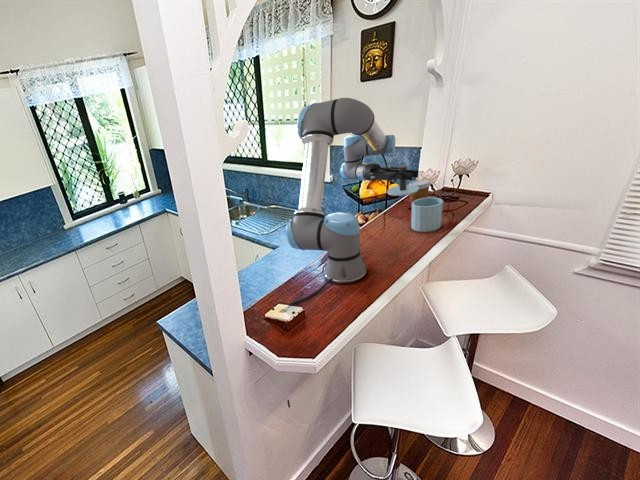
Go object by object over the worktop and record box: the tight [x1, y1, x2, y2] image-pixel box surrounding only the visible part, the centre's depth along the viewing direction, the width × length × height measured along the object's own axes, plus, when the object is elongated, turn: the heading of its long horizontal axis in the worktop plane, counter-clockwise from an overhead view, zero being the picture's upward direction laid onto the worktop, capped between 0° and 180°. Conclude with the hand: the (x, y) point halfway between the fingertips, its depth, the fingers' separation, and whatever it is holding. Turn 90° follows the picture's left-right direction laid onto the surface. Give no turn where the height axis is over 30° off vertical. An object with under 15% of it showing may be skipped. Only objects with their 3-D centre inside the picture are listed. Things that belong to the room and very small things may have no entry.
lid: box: [386, 165, 419, 197], centre depth 145 cm, size 12×12×11 cm
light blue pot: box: [410, 196, 444, 233], centre depth 149 cm, size 11×11×12 cm
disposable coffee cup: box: [408, 179, 431, 208], centre depth 170 cm, size 10×10×12 cm
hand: (414, 175), depth 140 cm, fingers closed on lid, 3 cm apart
